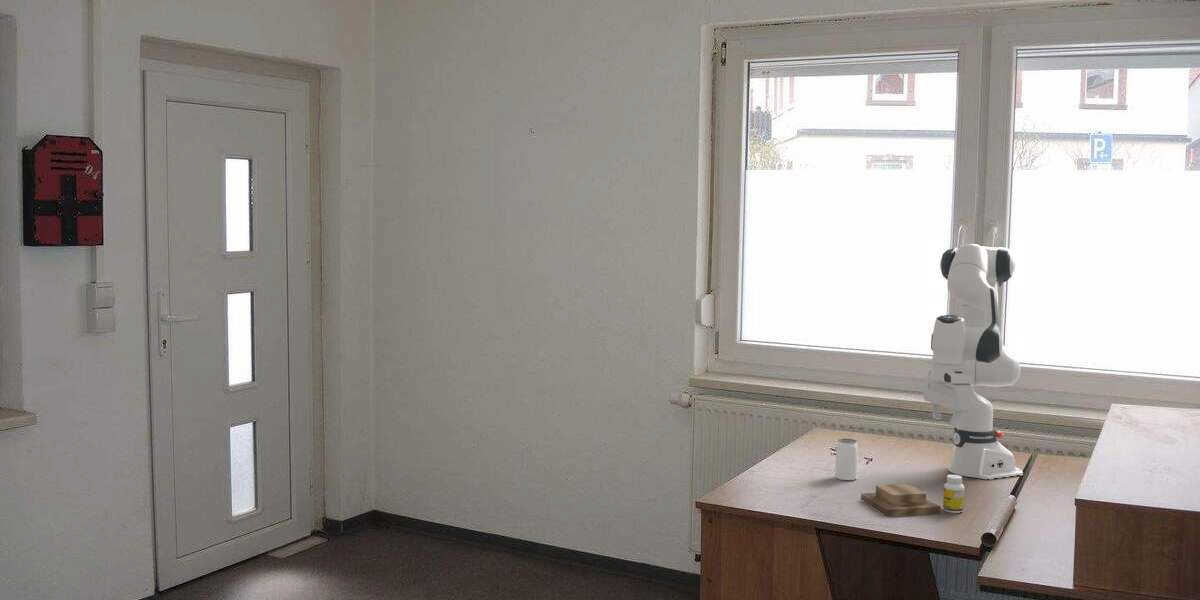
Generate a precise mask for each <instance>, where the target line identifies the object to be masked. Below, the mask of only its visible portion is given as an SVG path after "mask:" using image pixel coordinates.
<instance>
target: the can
mask: <svg viewBox="0 0 1200 600" xmlns="http://www.w3.org/2000/svg"><path fill="white" fill-rule="evenodd" d="M858 449H859V447H858V444H857V440H856V439H852V438H839V439H837V443H836V447H835V450H836V451H835V478H836V479H837V480H838V481H839V480H840V481H843V480H854V481H856V480H857V479H858V459H859V458H858V457H859V456H858V455H859V453H858ZM855 479H856V480H855Z"/></svg>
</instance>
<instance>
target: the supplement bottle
mask: <svg viewBox="0 0 1200 600" xmlns="http://www.w3.org/2000/svg"><path fill="white" fill-rule="evenodd" d="M942 508H943V511H945V512H947V513H950V514H961V513H960V512H962V513H963V512H964V511H965V485H964V484H963V476H962V475H958V474H948V475H947V476H946V483H944V486H943V507H942Z"/></svg>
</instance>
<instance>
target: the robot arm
mask: <svg viewBox="0 0 1200 600" xmlns="http://www.w3.org/2000/svg"><path fill="white" fill-rule="evenodd" d="M939 269H940V272H941V275H942V277H943V278H944V279H945V280H946V281H947V290H948V292H949V294H950V295H951V297H952V298H954V299H955V300H956V301H958V302H960V303H961V308H960V310H961V311H960V316H959V315H956V314H955V315H954V314H943V315H940V316H937V317H936V319H935V321H934V326H933V331H932V334H931V337H930V349H931V351H932V353H933V355H932V358H931V362H930V363H931V365H930V366H931V367H930V371H929V372H928V373H927V376H926V377H925V380H924V384H923V385H924V386H923V400H924V401H925V402H927V403H930V408H931V411H932V419H933V420H936V421H937V420H940V421H941V419H942V413H940V412H941V411H940V407H943V408H946V409H949V410H951V414H952V417H951V418H950V419H949V425H950V426H952V427H954V428H953V450H952V456H951V461H950V464H949V467H948V471H949V473H952V474H953V475H959V476H961V477H969V478H977V479H981V480H982V479H983V480H987V479H989V480H995V479H994V478H998V479H1003V478H1002V477H1006V478H1009V477H1008V476H1014V475H1020V476H1019V477H1021V476H1024V472H1023V470H1022V469H1021V468H1018V467H1017V466H1016V459H1015V456H1014V454H1013V453H1012V452H1011V451H1010V450H1009V449H1007V448H1006V447H1005V446H1004V445H1003V444H1001V443H1000V442H999V440H998V439H997V438H999V439H1004V437H1005V433H1004V432H1003V431H1000V430H997V431H996V430H995V429H993V427H994V426H993V423H994V406H993V404H992V403H991V402H990V401H989V400H988V399H987V398H986V397H983V396H982V395H979V394H977V392H975V390H974V386H978V387H994V388H995V387H997V388H1001V387H1009V386H1013V385H1015V384H1016V383H1017V382H1018V381H1019V378H1020V376H1021V372H1022V371H1021V369H1022V368H1021V364H1020V361H1019V360H1018V359H1017V357H1016V356H1015V355H1013V353H1012V352H1010V351H1009V350H1008V349H1007V348H1006V346H1005V345H1004V344H1003V340H1002V339H1003V338H1002V334H1001V332H1000V318H999V316H1000V315H999V291H998V289H999V288H998V287H1002V286H1003V283H1006V282H1008V281H1009V280H1010V278H1012V276H1013V273H1014V272H1015V269H1016V260H1015V256H1014V254H1013V252H1012V251H1011V250H1010V248H1006V247H991V246H980V245H979V244H975V243H967V244H964V245H961V246H960V247H959V248H957V247H954V248H949V249H947V250H946V251H944V252H943V253H942V256H941V259H940V263H939ZM997 284H998V285H999V286H998V285H997ZM1014 477H1015V476H1014Z"/></svg>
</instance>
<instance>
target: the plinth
mask: <svg viewBox="0 0 1200 600" xmlns="http://www.w3.org/2000/svg"><path fill="white" fill-rule="evenodd" d="M926 496H927V493H926V492H924V491H922V490H921V489H918V488H917V487H915V486H913V485H912V484H909V483H903V484H901V483H897V484H883V485H881V484H879V485H875V492H864V493H860V501H861V500H863V501H864V502H863V501H862V502H863V503H865V502H866V503H867V504H866V503H865V504H866V505H868V504H869V505H870V506H869V505H868V506H869V507H871V506H872V507H873V509H874V508H875V509H874V510H876V511H877V510H878V511H877V512H879V511H880V512H881V513H880V512H879V513H880V514H882V513H883V514H884V515H883V514H882V515H883V516H885V515H886V516H885V517H887V516H891V517H903V516H902V515H909V516H923V515H925V516H926V515H941V513H942V512H941V511H942V506H940V505H939V504H937V503H935V502H933V501H932V500H930V499H928V498H927V497H926ZM872 507H871V508H872Z"/></svg>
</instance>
